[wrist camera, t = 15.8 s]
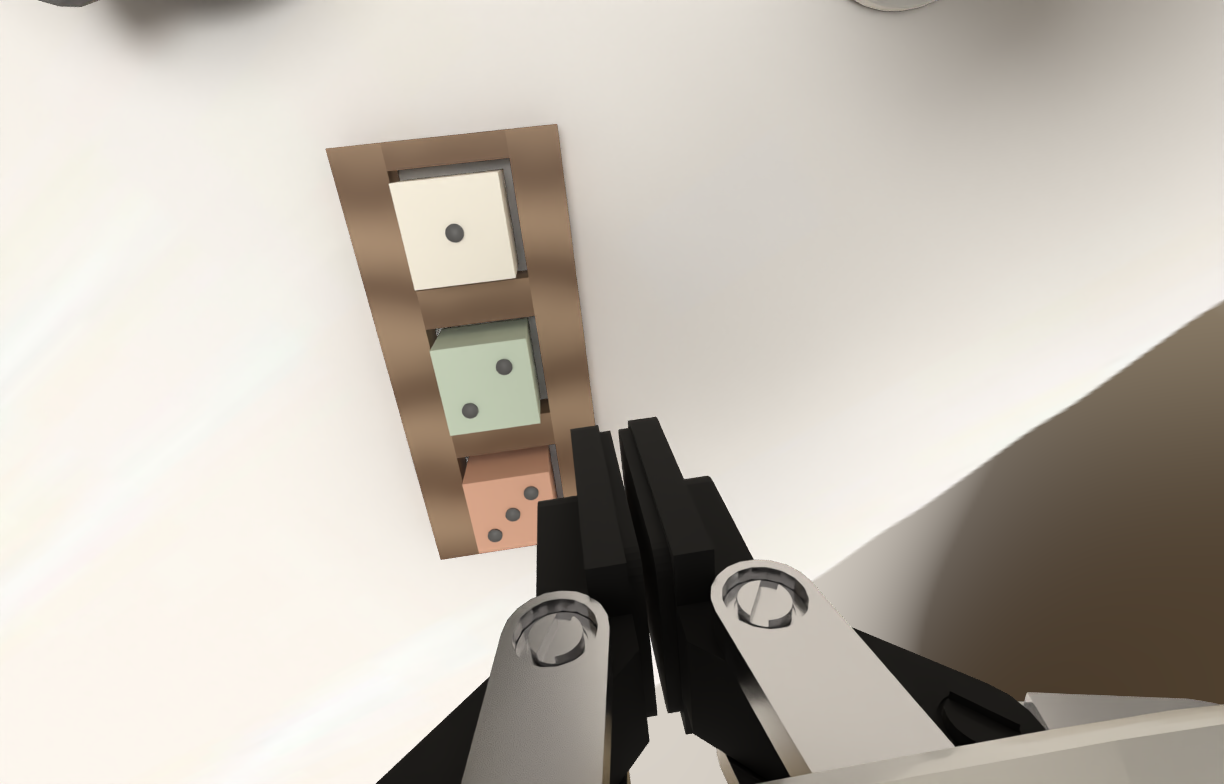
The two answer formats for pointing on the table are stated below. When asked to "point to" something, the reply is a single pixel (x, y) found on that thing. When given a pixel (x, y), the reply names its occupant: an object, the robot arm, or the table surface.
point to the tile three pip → (507, 496)
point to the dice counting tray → (469, 308)
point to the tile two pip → (487, 376)
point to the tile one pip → (456, 229)
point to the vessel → (69, 2)
